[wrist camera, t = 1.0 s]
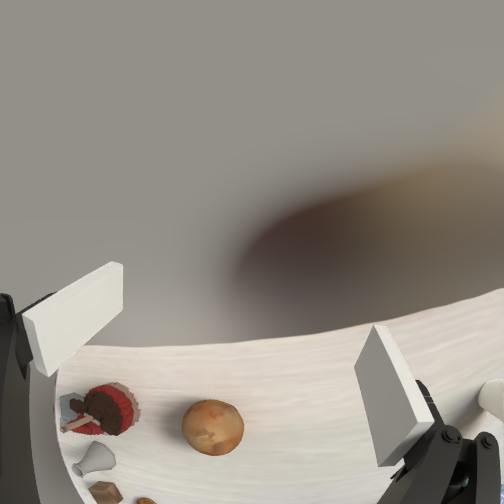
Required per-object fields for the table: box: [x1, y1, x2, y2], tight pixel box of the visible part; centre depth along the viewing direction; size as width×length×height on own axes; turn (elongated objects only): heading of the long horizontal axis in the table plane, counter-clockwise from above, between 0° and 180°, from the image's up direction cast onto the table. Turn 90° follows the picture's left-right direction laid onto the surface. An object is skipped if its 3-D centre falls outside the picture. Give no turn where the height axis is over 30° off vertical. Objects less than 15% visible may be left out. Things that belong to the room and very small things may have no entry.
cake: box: [60, 382, 141, 436], centre depth 35 cm, size 11×9×18 cm
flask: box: [72, 441, 116, 478], centre depth 36 cm, size 7×7×10 cm
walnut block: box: [88, 481, 123, 504], centre depth 36 cm, size 5×5×5 cm
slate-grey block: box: [60, 393, 84, 421], centre depth 42 cm, size 5×5×5 cm
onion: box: [182, 400, 244, 456], centre depth 37 cm, size 10×10×10 cm
